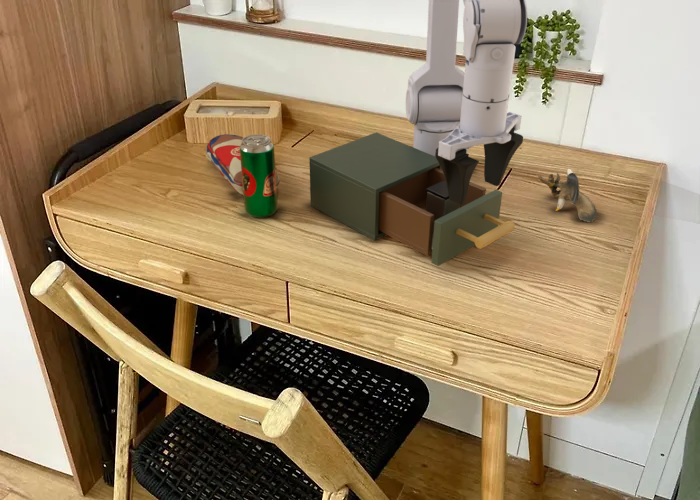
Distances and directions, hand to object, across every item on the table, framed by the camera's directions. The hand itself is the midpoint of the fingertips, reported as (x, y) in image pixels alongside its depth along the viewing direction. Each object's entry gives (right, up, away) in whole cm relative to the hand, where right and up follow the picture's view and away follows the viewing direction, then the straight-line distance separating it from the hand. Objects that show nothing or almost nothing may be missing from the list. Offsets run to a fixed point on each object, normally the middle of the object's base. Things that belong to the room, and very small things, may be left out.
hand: (474, 192), depth 95 cm
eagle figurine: (+18, -1, +17) cm, 24 cm away
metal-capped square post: (-4, -5, +7) cm, 9 cm away
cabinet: (-13, -1, +17) cm, 21 cm away
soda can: (-31, -2, +15) cm, 34 cm away
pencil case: (-35, +5, +26) cm, 44 cm away
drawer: (-3, -6, +7) cm, 10 cm away
